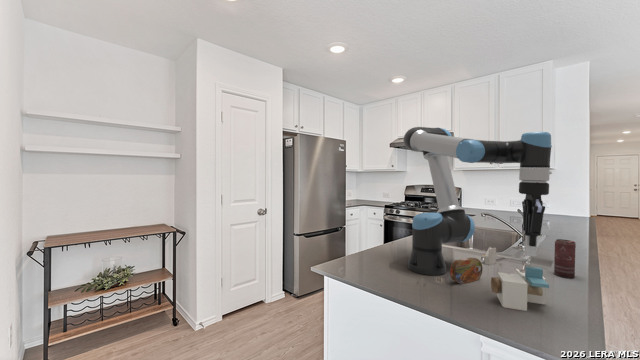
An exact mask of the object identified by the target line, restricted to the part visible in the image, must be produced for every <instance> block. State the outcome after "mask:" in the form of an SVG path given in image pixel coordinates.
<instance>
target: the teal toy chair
mask: <svg viewBox="0 0 640 360" xmlns="http://www.w3.org/2000/svg"><path fill="white" fill-rule="evenodd" d="M524 273H525V279H526V280H527V281H528V282H529V283H530V284H531V285H532V286H536V287H544V288H546V289H549V288H550V284H549V283H548V282H547V280H546V281H545V280H544V279H543V277H544V276H543V275H544V270H543V268H542V267H539V266H538V267H537V266H536V267H535V266H527V265H525V267H524Z"/></svg>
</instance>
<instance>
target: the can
mask: <svg viewBox="0 0 640 360" xmlns="http://www.w3.org/2000/svg"><path fill="white" fill-rule="evenodd" d="M576 244H577V243H576V241H574V240H568V239H562V238H559V239H555V241H554V260H553V263H554V266H553V273H554V275H555V276H558V277H560V278H566V279H573V278H574V277H575V276H576V272H575V271H576V246H577V245H576Z"/></svg>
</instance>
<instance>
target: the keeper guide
mask: <svg viewBox="0 0 640 360" xmlns="http://www.w3.org/2000/svg"><path fill="white" fill-rule="evenodd" d="M514 274H517V275H520V276H521V277H522V278H523V279H524V281H525V282H526V283H527V285H531V284H530V283H529V282H528V281H527V280H526V279H525V272H521V270H519V269H518V268H516V269H515V272H514ZM543 279H544V280H545V281H546V282H547V278H545V277H544V276H543ZM531 286H532V285H531ZM541 288H542V291H543V295H542V296H538V295H531V294H527V303H532V304H539V305H547V288H544V287H541Z"/></svg>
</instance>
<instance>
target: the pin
mask: <svg viewBox="0 0 640 360" xmlns="http://www.w3.org/2000/svg"><path fill="white" fill-rule="evenodd" d="M490 279H491V280H490V288H491V292H492V293H493V294H497V293H499V291H500V290H502V282H500V281H499V279H498V278H497V277H493V276H492V277H491V278H490ZM527 294H531V295H538V296H542V295H543V291H542V288H541V287H536V286H531V285H527Z"/></svg>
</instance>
